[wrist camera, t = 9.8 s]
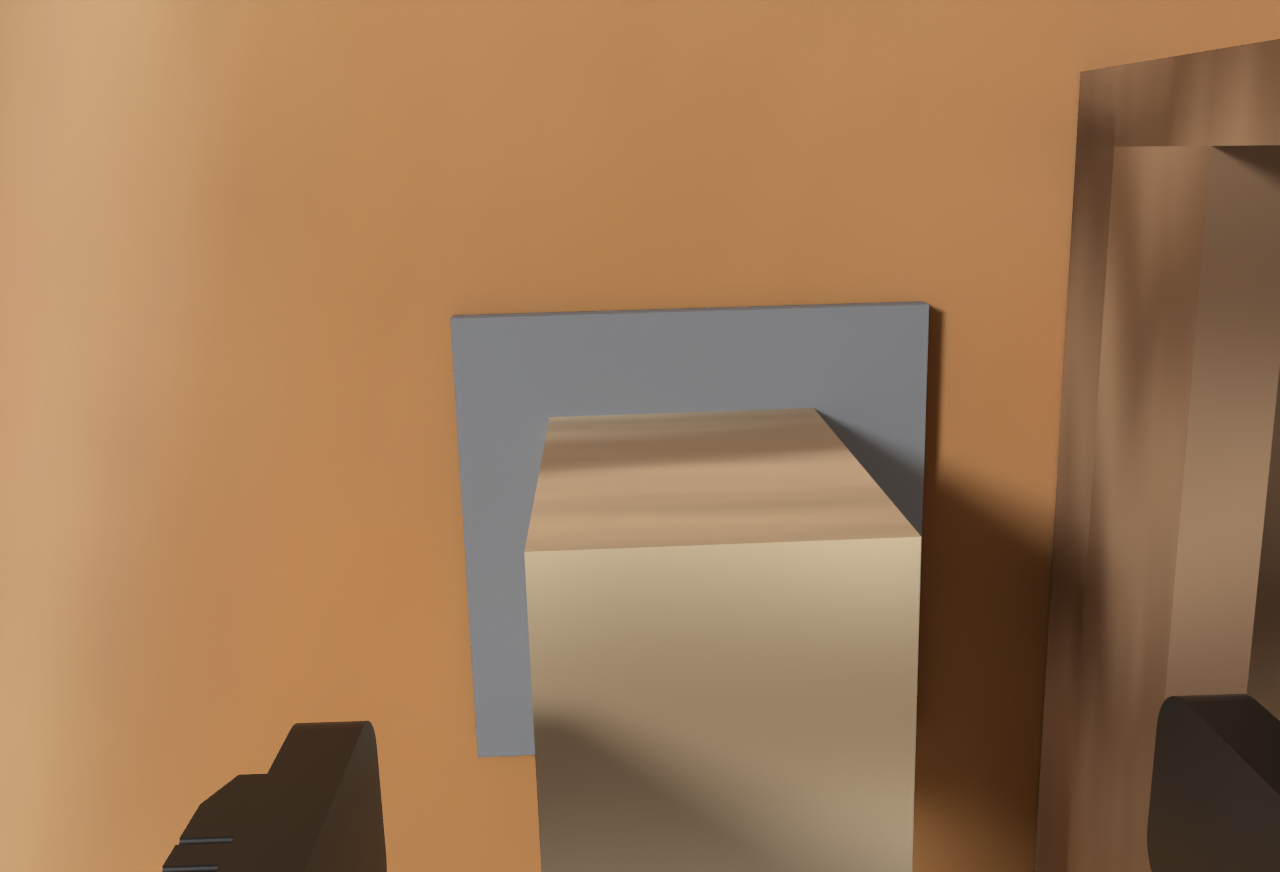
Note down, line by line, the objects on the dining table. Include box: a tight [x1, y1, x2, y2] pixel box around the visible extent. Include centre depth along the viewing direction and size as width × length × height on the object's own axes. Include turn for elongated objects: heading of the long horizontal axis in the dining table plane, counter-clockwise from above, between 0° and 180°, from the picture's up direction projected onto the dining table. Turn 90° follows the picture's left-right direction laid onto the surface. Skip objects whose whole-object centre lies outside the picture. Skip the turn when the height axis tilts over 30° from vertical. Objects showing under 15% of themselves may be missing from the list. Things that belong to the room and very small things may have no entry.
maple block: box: [524, 408, 921, 872], centre depth 17 cm, size 4×4×7 cm
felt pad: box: [450, 301, 929, 757], centre depth 21 cm, size 8×8×1 cm
